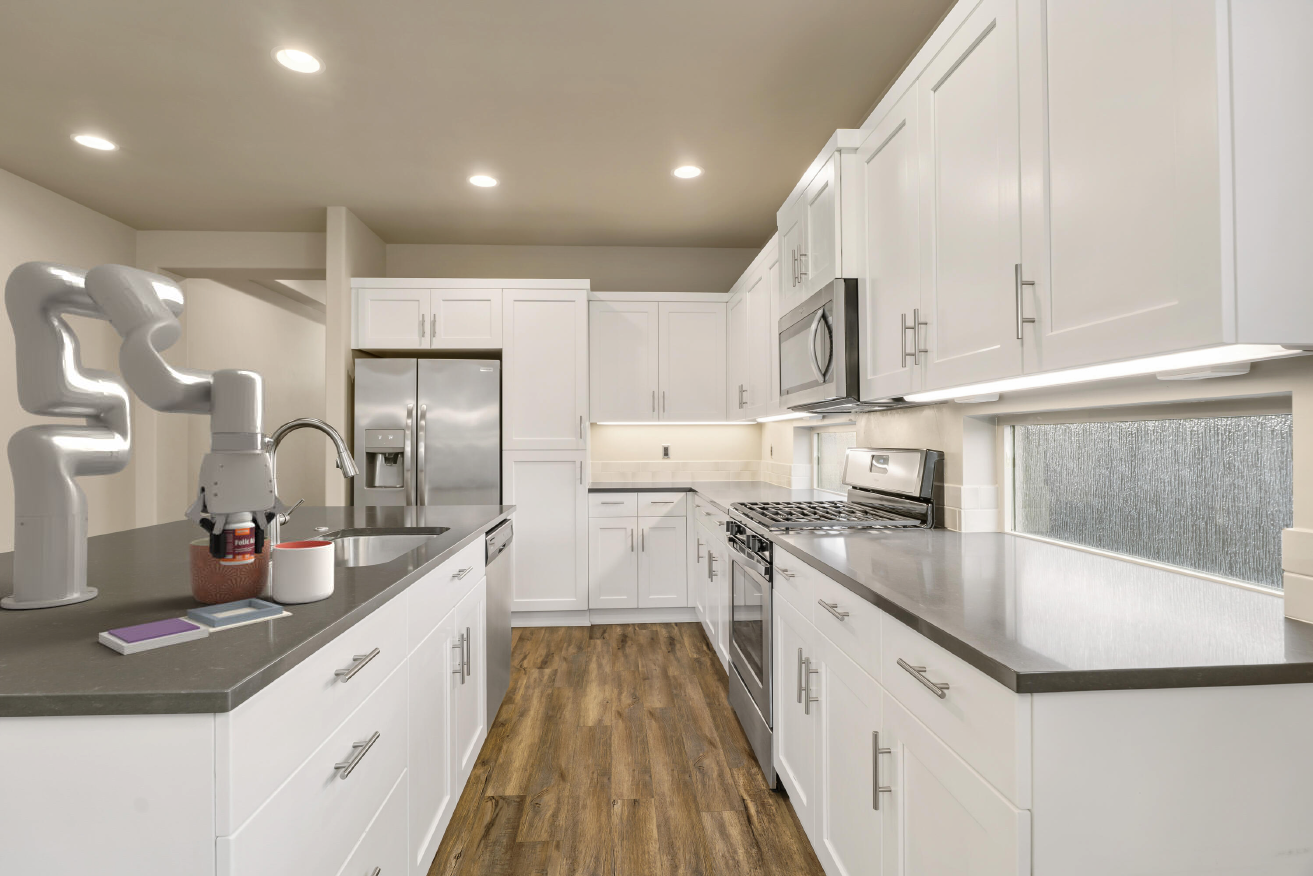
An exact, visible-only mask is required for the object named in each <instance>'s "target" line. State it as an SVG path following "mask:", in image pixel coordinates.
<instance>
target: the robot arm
mask: <svg viewBox="0 0 1313 876" xmlns="http://www.w3.org/2000/svg"><path fill="white" fill-rule="evenodd" d="M4 305H5V310H6V313H7V316H8V320H9V322H10V325H11V328H12V331H13V335H14V342H15V365H16V366H15V369H16V387H17V388H16V390H17V398H18V402H19V405H20V406H21V408H22V410H24V411H25V412H26V413H27V414H28V413H29V414H31V415H35V416H40V417H47V418H49V417H51V418H69V419H73V418H74V419H84V421H85V423H86V425H85V424H84V425H83V424H58V423H53V424H52V423H47V424H45V423H44V424H35V425H29V426H26V427H23V428H21V429H19V430H17V431H16V432H15V433H13V434H12V436H11V437H10V438H9V440H8V443H7V447H6V448H7V449H6V451H7V452H6V453H7V458H8V459H7V460H8V464H9V467H10V472H11V475H12V480H13V481H12V482H13V492H14V530H13V531H14V538H13V539H14V542H13V544H14V545H13V591H12V592H13V593H12V595H9V596H5V597H3V598H2V599H1V600H0V607H1V608H3V609H6V610H7V609H8V610H9V609H10V610H27V609H40V608H41V609H43V608H51V607H58V606H65V605H71V604H75V603H76V604H77V603H81V602H83V601H87V600H91V599H93V598H95V597H96V596H98V594H99V592H98V591H99V590H98V588H96V587H95V586H93V587H92V586H87V584H88V583H87V582H88V579H87V578H88V526H89V524H88V520H89V519H88V513H89V512H88V510H89V508H88V507H89V506H88V505H89V503H88V499H87V495H86V494H85V492H84V490H83V489H82V488H81V486H80V485H79V484H78V482H77V481H76V480H75V478H76V477H89V476H90V477H93V476H94V477H95V476H107V475H114V474H115V475H116V474H118V473H120V472H122V471H123V470H125V469H126V468H127V467H128V465H129V464H130V461H131V460H132V455H133V429H132V428H133V424H132V422H133V421H132V403H131V402H132V401H131V394H130V390H129V388H130V389H131V390H132V392H133V394H135V395H136V397H137V398H138V399H139V400H140V401H141V402H142V403H143V404H144V405H145V406H147V407H149V408H150V409H152V410H154V411H157V412H160V413H161V412H162V413H168V414H188V415H190V414H191V415H198V416H199V415H203V416H205V415H206V416H210V418H209V419H210V422H209V423H210V425H209V427H210V429H209V431H210V436H209V437H210V442H209V443H210V445H209V447H210V448H209V449H210V450H209V452H210V453H206V452H205V453H203V456H202V459H201V465H200V467H199V469H200V470H199V474H198V483H197V492H196V500H195V501H194V502H193V503H192V504H191V505H190V507H189V508H188V509H187V510H186V512H184V517H185V518H188V520H191V521H192V522H194V523H195V524H197V525H198V526H199V527H201V528H202V529H203V530H205V531H206V533H208V534H209V538H210V539H209V551H210V553H211V554H212V557H213V558H217V559H224V558H225V557H226V535H225V534H223V533H222V529H223V525H224V523H225V519H226V515H229V514H234V513H242V512H251V513H252V520H251V522H253V523H254V525H255V551H254V553H255V554H261V553H262V548H263V547H264V536H265V530H267V528H268V525H269V524H270V523H271V522H273V520H275V518H276V517H277V516H278V515H280V514H281V513H282V512H283V511H284V510H285V509H286V505H285V504H284V503H283V502H282V501H281V499H279V497H278V496H277V495H276V493H275V482H274V472H273V466H272V461H271V457H270V454H269V452H266V451H265V450H267V447H269V446H273V444H274V440H273V438H272V437H268V436H267V433H265V432H266V429H265V428H266V379H265V377H264V375H263V374H262V373H261V372H259V371H258V370H252V369H243V368H221V369H217V370H215V371H214V370H206V369H198V368H190V367H185V366H184V367H183V366H176V365H175V366H174V365H170V364H169V363H168V362H167V361H165V360H164V358H163V357H162V356H161V354H160V353H162V352H165V351H166V350H168V349H170V348H172V346H174V345H175V344H177V342H178V341H179V339H180V338H181V336H182V332H183V327H182V324H181V322H180V320H179V319H178V318H179V317H181V315H182V314H183V312H184V310H185V306H186V298H185V294H184V292H183V289H182V287H181V286H180V285H179V284H178V283H177V282H176V281H175V280H173V279H171V278H170V277H168V276H165V275H162V274H158V273H155V272H151V271H146V270H143V269H141V268H140V269H139V268H137V267H132V266H127V265H124V264H119V263H104V264H99V265H96V266H94V267H92V268H91V269H89V270H87V269H84V268H80V267H77V266H72V265H67V264H62V263H58V262H51V261H41V260H35V261H27V262H23V263H21V264H19V265H18V266H16V267H15V268H14V269H12V271H11V272H10V274H9V275H8V278H7V280H6V283H5V287H4ZM62 314H65V315H66V314H67V315H73V316H78V317H83V318H88V319H95V320H99V321H106V322H108V323H109V324H110V325H111V327H113V329H114V331H115V332H116V333H117V335H118V336H119V337H120V338H121V339H122V343H121V345H120V348H119V351H118V366H119V372H120V375H121V376H120V375H118V374H116V373H115V372H113V371H111V370H106V369H100V368H91V367H89V368H88V367H84V365H83V364H82V357H81V343H80V340H79V338H78V336H77V334H76V333H75V331H74V329H73V328H72V327H71V324H69V323H68V322H67V321H66V320H65V319H64V318H63V317H62ZM121 377H122V378H121ZM127 385H128V386H127ZM128 387H129V388H128ZM203 514H206V515H207V514H209V518H208V517H206V516H204V515H203Z"/></svg>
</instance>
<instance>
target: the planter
mask: <svg viewBox="0 0 1313 876" xmlns="http://www.w3.org/2000/svg"><path fill="white" fill-rule="evenodd" d="M209 539H210V537H204V538H199V539H196V540H195V539H194V540H193V541H190V542H189V543H188V546H189V547H188V550H189V577H190V578H189V579H190V588H191V592H192V593H191V594H192V595H193V597H194V598H193V599H195V600H196V601H197V602H199V603H202V604H206V605H219V604H224V603H229V602H235V601H240V600H246V599H251V598H256V599H257V598H258V597H260V596H261V595H262V594H263V593H264V592H265V590H266V588H267V585H268V579H269V574H270V573H269V572H270V571H269V570H270V558H271V537H270V536H267V535H264V547H263V548H262V553H261V554H255V553H254V561H253V562H251V563H246V564H239V565H223V564H221V563H220V559H217V558H213V557H212V554H211V553H210V551H209Z"/></svg>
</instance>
